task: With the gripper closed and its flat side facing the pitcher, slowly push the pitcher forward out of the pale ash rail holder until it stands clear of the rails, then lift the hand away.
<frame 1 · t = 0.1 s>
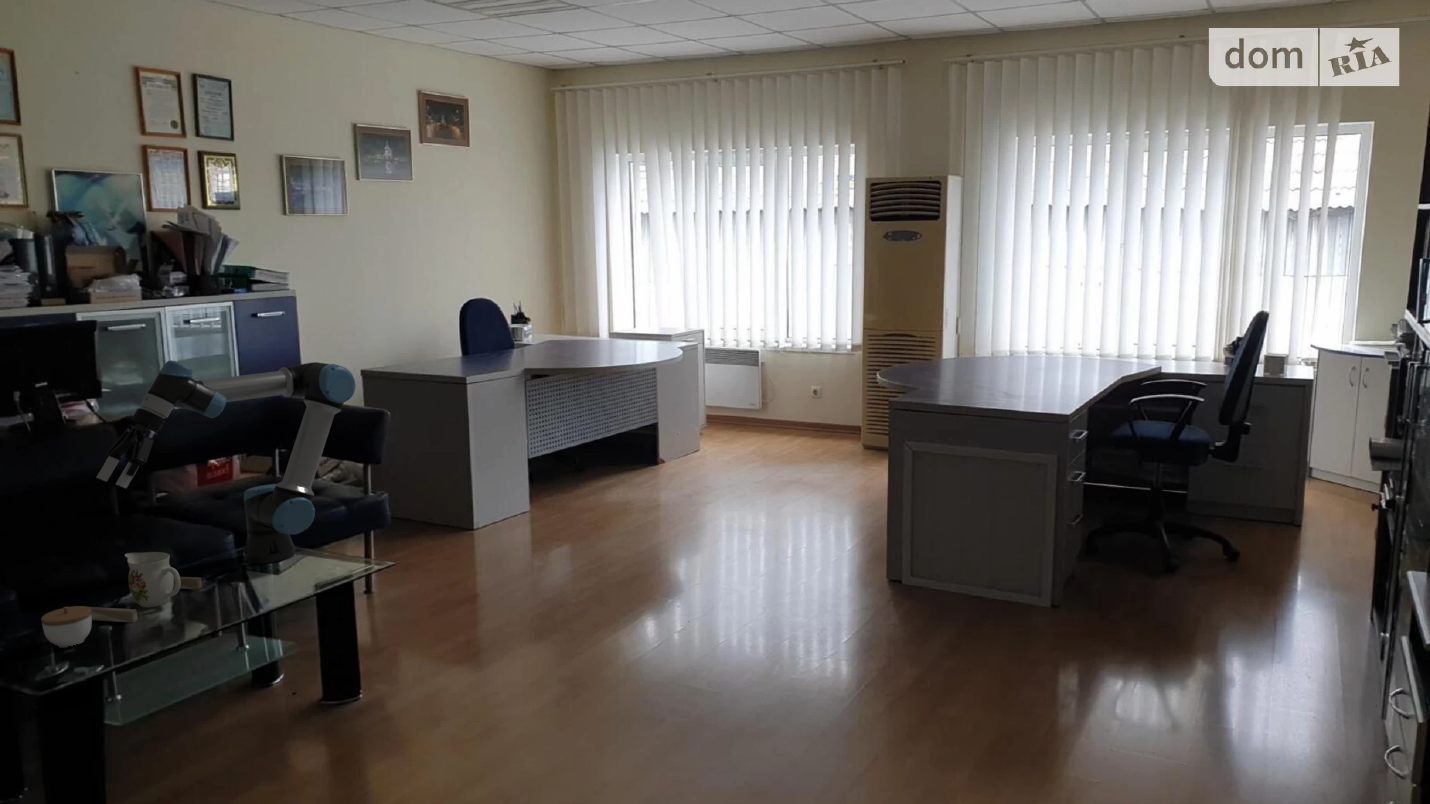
hand: (110, 483, 273), 36 cm above the table, tool tilted 35°, fingers open, 13 cm apart
rail holder: (145, 602, 284), on the table
lidded jar: (70, 643, 256), on the table
pitcher: (156, 604, 283), on the table
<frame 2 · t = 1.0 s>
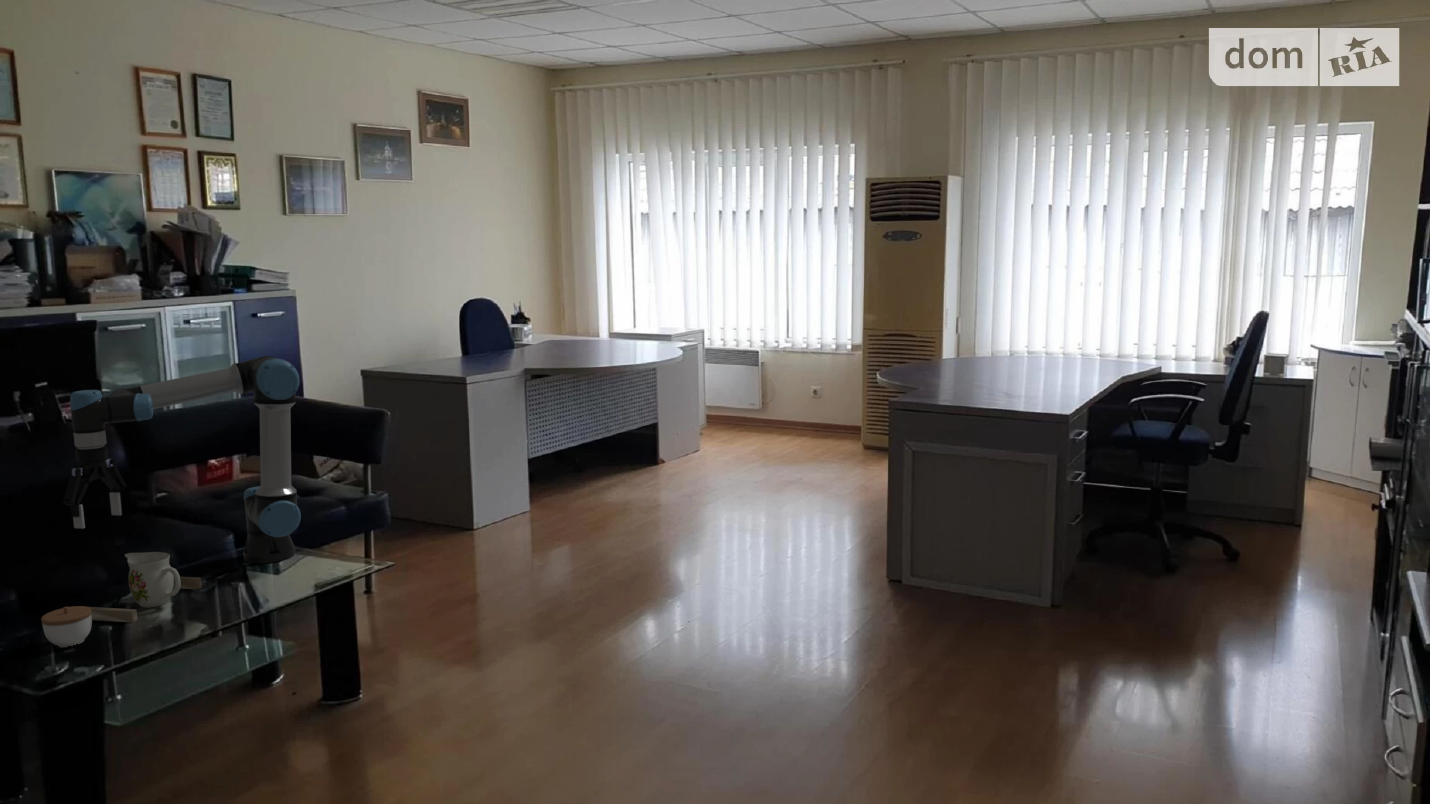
hand: (98, 521, 282), 23 cm above the table, tool pointing down, fingers open, 13 cm apart
nothing on the table moved.
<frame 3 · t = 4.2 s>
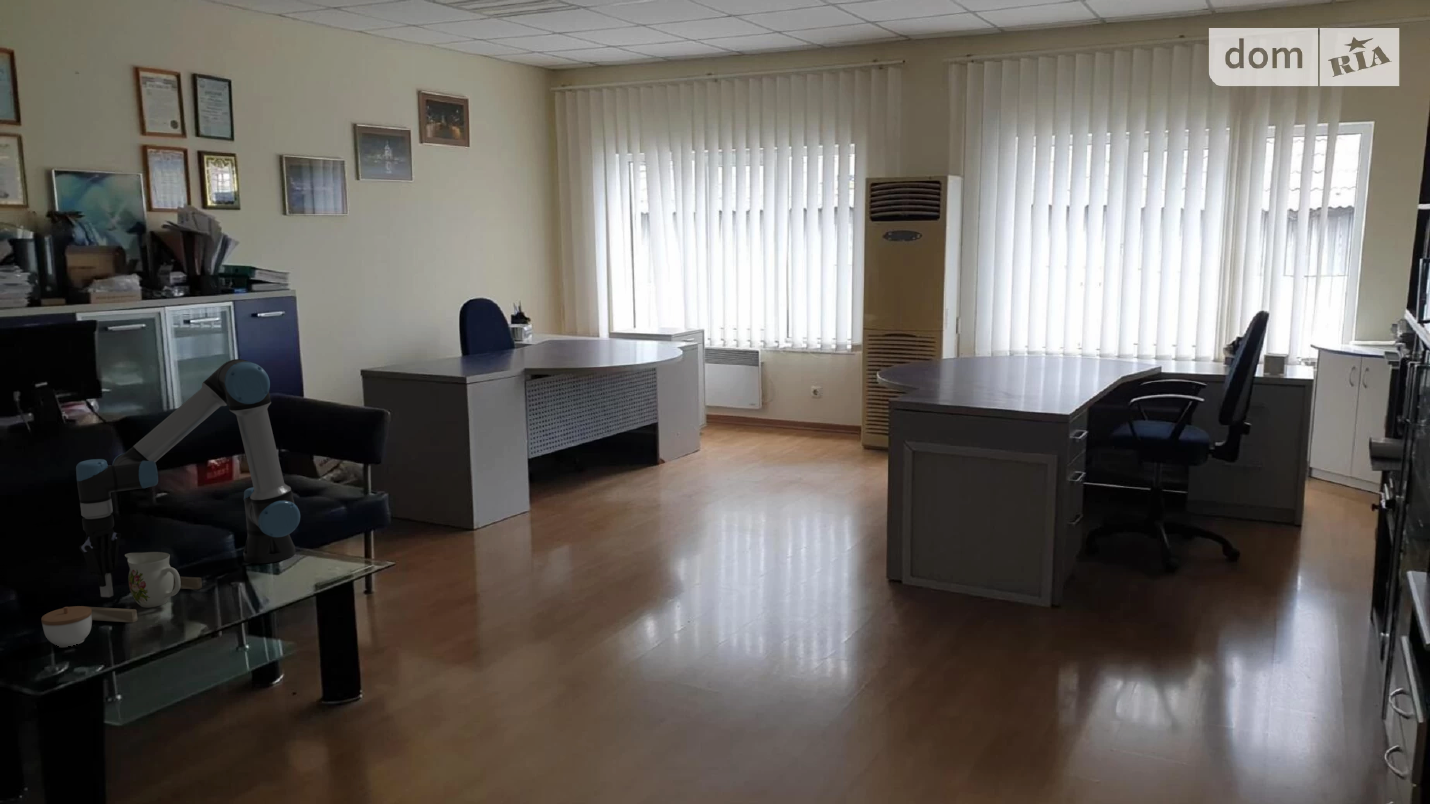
hand: (107, 596, 286), 1 cm above the table, tool pointing down, fingers closed
nothing on the table moved.
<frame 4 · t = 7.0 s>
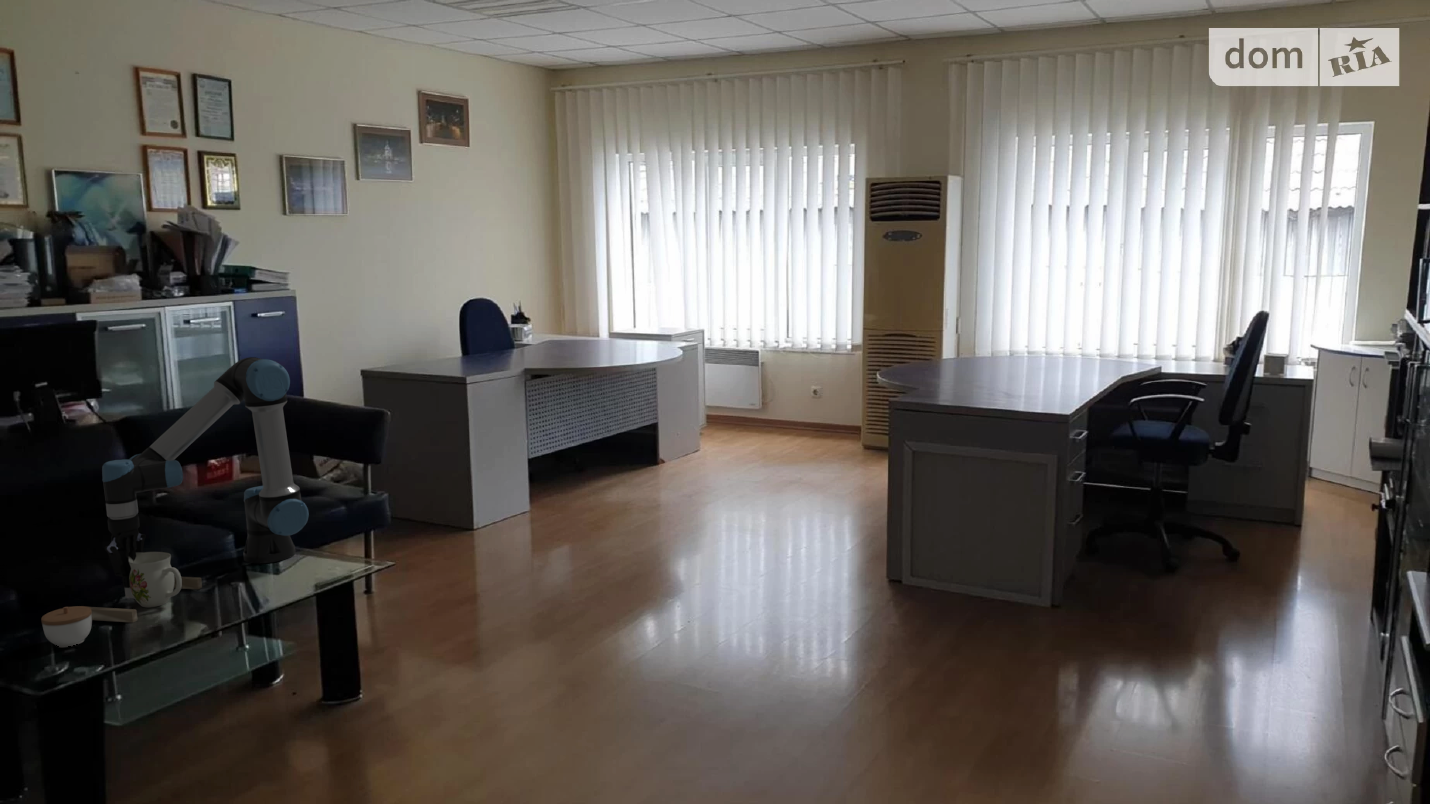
hand: (131, 597, 284), 1 cm above the table, tool pointing down, fingers closed
pitcher: (157, 604, 283), on the table, touching gripper
everything else where it was.
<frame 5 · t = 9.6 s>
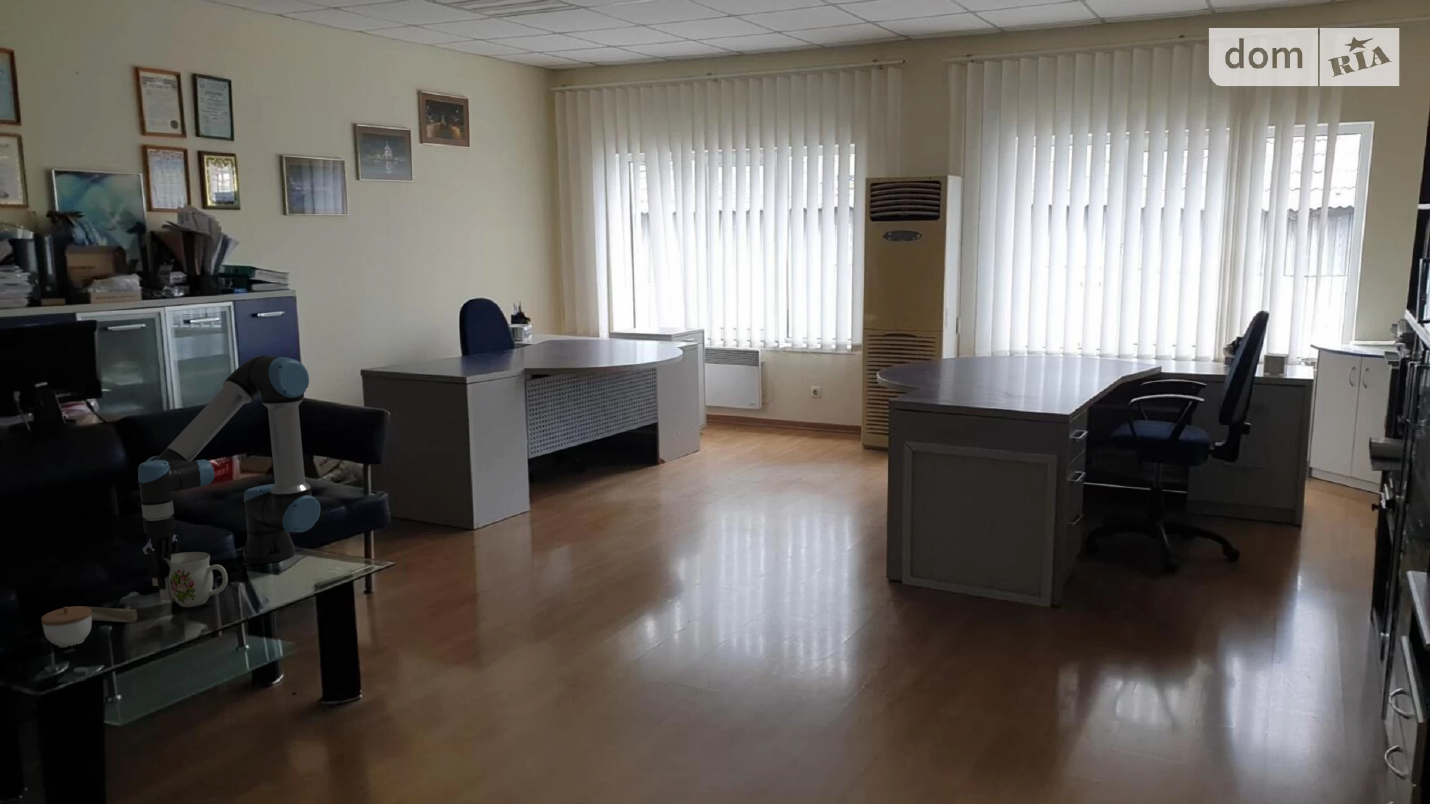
hand: (166, 599, 282), 2 cm above the table, tool pointing down, fingers closed
pitcher: (196, 603, 283), on the table, touching gripper
everything else where it was.
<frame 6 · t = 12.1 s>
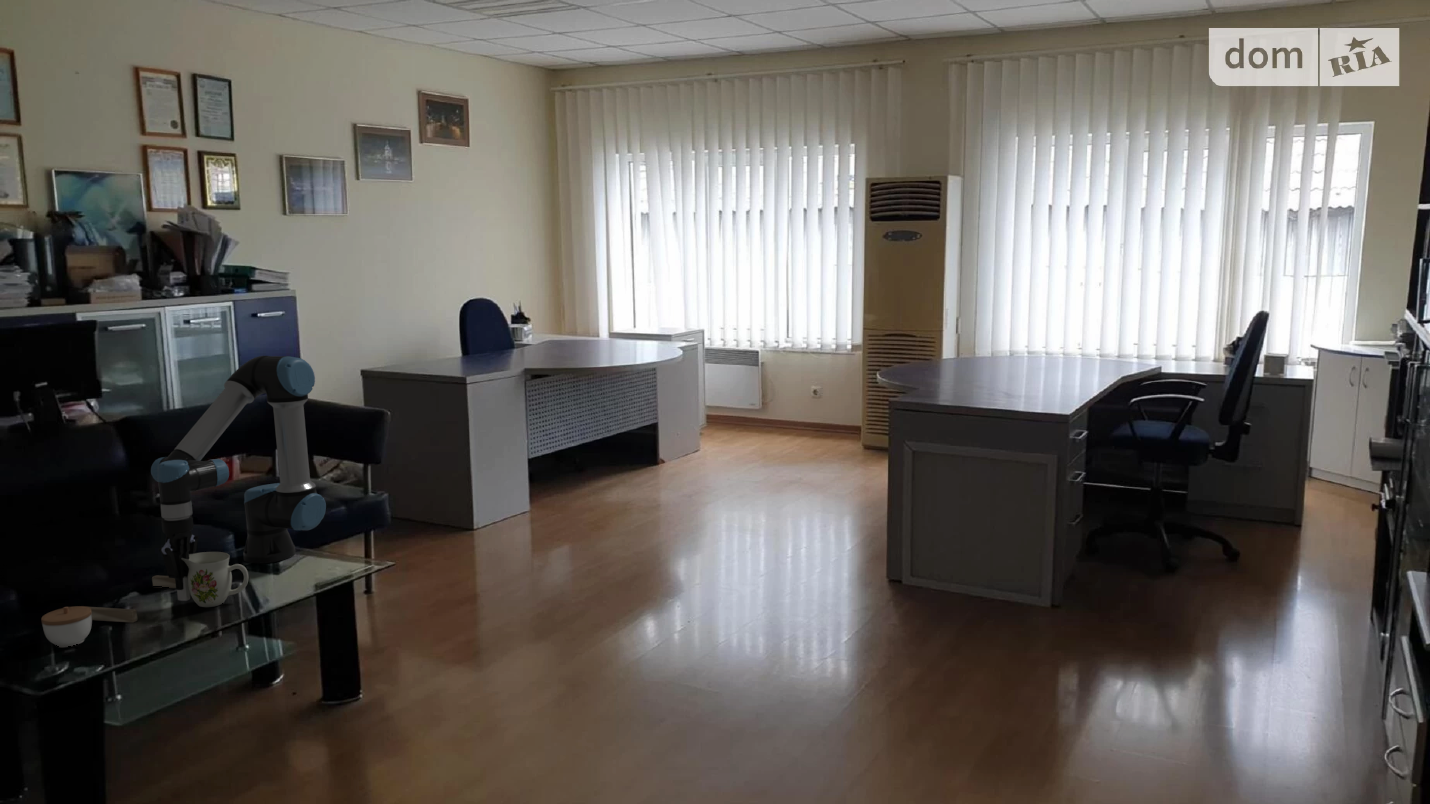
hand: (184, 599, 281), 2 cm above the table, tool pointing down, fingers closed
pitcher: (214, 603, 282), on the table, touching gripper, hand
everything else where it was.
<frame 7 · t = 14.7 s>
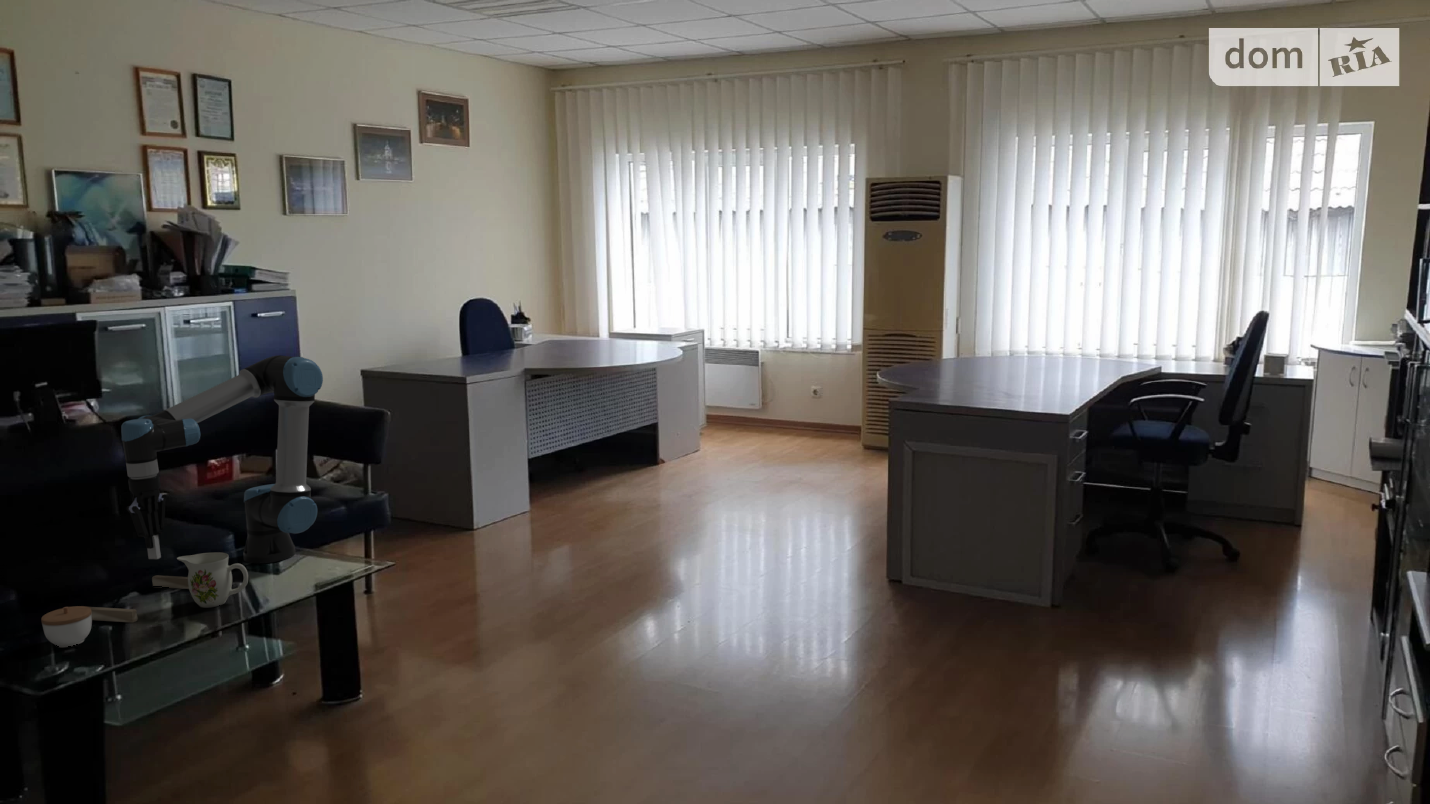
hand: (154, 558, 281), 13 cm above the table, tool pointing down, fingers closed
pitcher: (216, 603, 283), on the table
everything else where it was.
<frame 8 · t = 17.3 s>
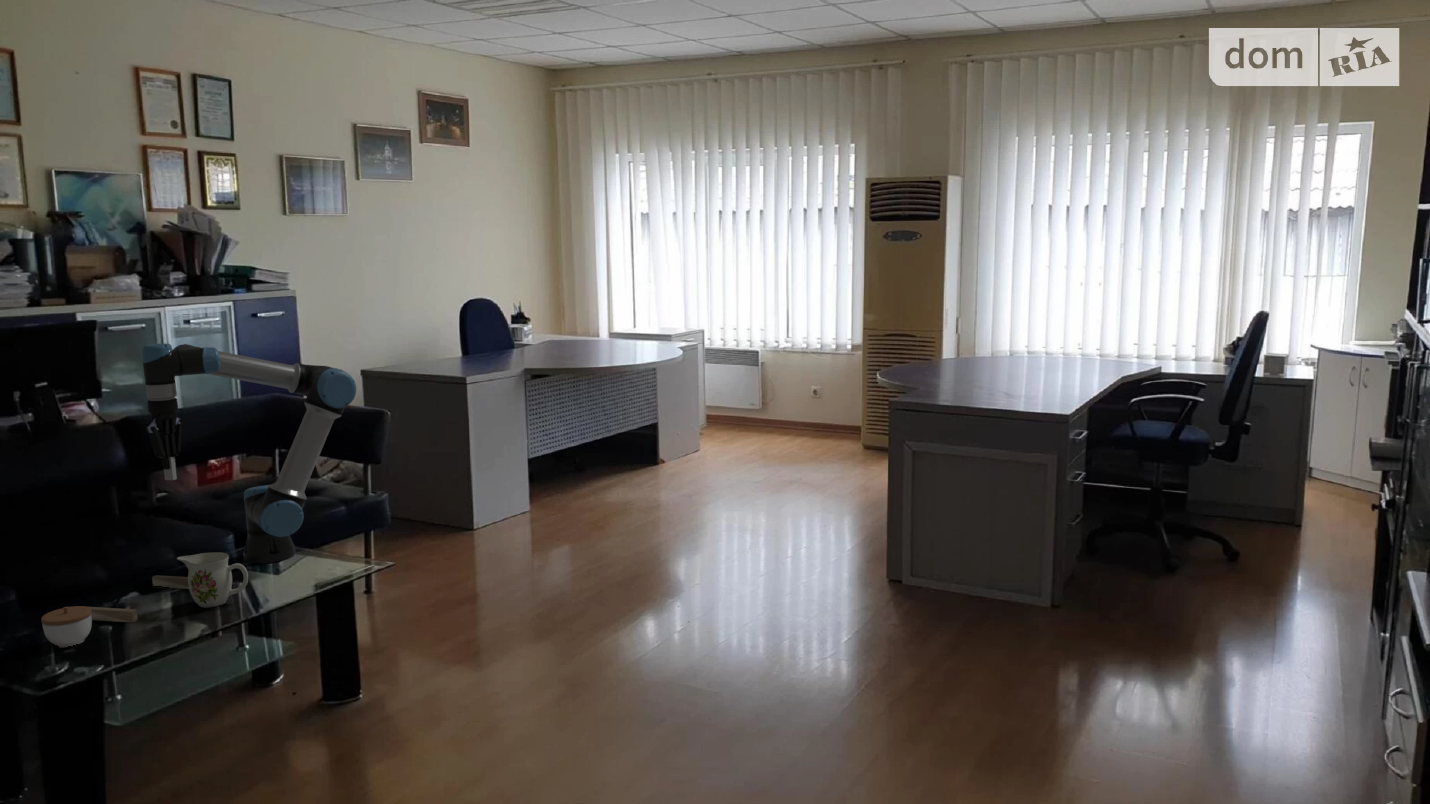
hand: (170, 479, 291), 32 cm above the table, tool pointing down, fingers closed
nothing on the table moved.
at the end: pitcher inside the target area (3.2 cm from its centre), on the table; pitcher tilted 0°; pitcher moved 17.0 cm from its start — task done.
